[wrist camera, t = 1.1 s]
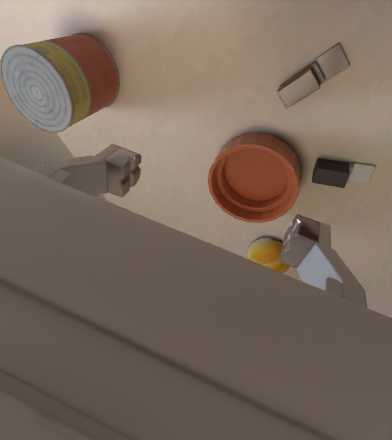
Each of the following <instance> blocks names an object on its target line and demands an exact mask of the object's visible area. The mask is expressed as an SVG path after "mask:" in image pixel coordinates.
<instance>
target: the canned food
mask: <svg viewBox="0 0 392 440" xmlns="http://www.w3.org/2000/svg"><path fill="white" fill-rule="evenodd" d="M1 76H2V80H3V83H4V86H5V89H6V91H7V93H8V95H9V97H10V99H11V101H12V102H13V104H14V105H15V107H16V108H17V109H18V111H19V112H20V113H21V114H22V115H23V116H24V117H25V118H26V119H27V120H28V121H29V122H31V123H32V124H33V125H35V126H36V127H38V128H40V129H42V130H44V131H47V132H51V133H58V132H61V131H64V130H65V129H66V128H68V127H69V126H71V125H73V124H75V123H77V122H79V121H80V120H82V119H84V118H86V117H88V116H90V115H91V114H93V113H95V112H97V111H99V110H101V109H102V108H104V107H107V106H109V105H111V104H112V103H113V102H114V100H115V99H116V97H117V95H118V91H119V76H118V71H117V68H116V65H115V63H114V61H113V59H112V57H111V55H110V54H109V52H108V51H107V49H106V48H105V47H104V46H103V45H102V44H101V43H100V42H99V41H98V40H96V39H95V38H93V37H91V36H89V35H86V34H73V35H71V36H66V37H61V38H56V39H50V40H45V41H40V42H35V43H29V44H24V45H14V46H11V47H9V48H8V49H7V50H6V51H5V52H4V54H3V56H2V59H1Z"/></svg>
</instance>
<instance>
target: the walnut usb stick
mask: <svg viewBox="0 0 392 440" xmlns="http://www.w3.org/2000/svg"><path fill="white" fill-rule="evenodd" d="M349 66H350V64H349V62H348V60H347V58H346V56H345V54H344V52H343V50H342V47H341V45H340V43H338V44H336V45H335V46H334V47H332V48H331V49H329V50H328V51H326V52H325V53H324V54H322V55H321V56H319V57H318V58H316V61H315V62H313V63H312V64H311V65H310V66H308V67H307V68H305V69H304V70H302V71H301V72H300V73H298V74H297V75H295V76H294V77H292V78H291V79H289V80H288V81H286V82H285V83H284V84H282V85H281V86H280V87H279V89H278V92H277V93H278V95H279V96H280V98H281V100H282V101H283V103H284V105H285V107H286V108H288V107H290V106H292V105H293V104H295V103H296V102H298V101H300V100H301V99H303V98H304V97H306V96H308V95H309V94H311V93H312V92H314V91H316V90H317V89H319V88H320V84H322V83H324V82H325V79H326V81H327V80H328V79H330V78H331V77H333V76H335V75H336V74H338V73H339V72H341V71H343V70H344V69H346V68H347V67H349Z"/></svg>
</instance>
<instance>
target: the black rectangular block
mask: <svg viewBox="0 0 392 440" xmlns="http://www.w3.org/2000/svg"><path fill="white" fill-rule="evenodd" d="M375 167H376V166H375V165H368V164H362V163H355V162H354V163H344V162H337V161H331V160H324V159H317V161H316V164H315V167H314V170H313V178H312V183H318V184H324V185H329V186H335V187H341V188H344V187H345V185H346V183H348V181H352V182H358V183H364V184H368V182H369V180H370V178H371V176H372V174H373V172H374V170H375Z"/></svg>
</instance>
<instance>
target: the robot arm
mask: <svg viewBox="0 0 392 440" xmlns="http://www.w3.org/2000/svg"><path fill="white" fill-rule="evenodd" d="M140 163H141V155H140V154H138V153H136V152H133V151H131V150H128V149H126V148H123V147H121V146H118V145H115V144H111V145H110V146H109V147H107V148H106V149H104V150H103V151H101V152H100V153H99V154H97V155H96V156H85V157H77V158H70V159H63V160H56V161H49V162H45V163H43V164H42V165H40V166H38V167H37V168H35V169H33V170H30V169H27V168H25V167H22V166H20V165H17V164H15V163H12V162H10V161H7V160H5V159H3V158H0V440H392V318H390V317H388V316H385V315H383V314H380V313H378V312H375V311H373V310H371V309H368V308H367V303H366V295H365V290H364V289H363V287H362V286H361V285H360V283H359V282H358V281H357V279H356V278H355V277H354V275H353V274H352V273H351V271H350V270H349V269H348V267H347V266H346V265H345V263H344V262H343V261H342V259H341V258H340V257H339V256H338V254H337V253H336V252H335V250H334V249H331V227H330V225H327V224H325V223H322V222H318V221H315V220H313V219H310V218H307V217H304V216H301V215H299V214H297V215H296V217H295V218H294V220H293V225H292V226H290V227H289V228H288V230H287V232H286V234H285V236H284V239H283V243H282V245H283V249H282V251H281V255H280V261H281V262H283V263H285V264H288V265H290V266H292V267H294V268H297V272H298V274H299V276H300V278H301V281H300V280H298V279H295V278H293V277H290V276H288V275H285V274H283V273H281V272H278V271H276V270H273V269H271V268H268V267H266V266H264V265H261V264H259V263H256V262H254V261H251V260H249V259H246V258H244V257H242V256H239V255H237V254H234V253H232V252H229V251H227V250H225V249H222V248H220V247H217V246H215V245H212V244H210V243H207V242H205V241H203V240H200V239H198V238H195V237H193V236H190V235H188V234H186V233H183V232H181V231H178V230H176V229H173V228H171V227H168V226H166V225H164V224H161V223H159V222H156V221H154V220H151V219H149V218H147V217H144V216H142V215H139V214H137V213H134V212H132V211H129V210H127V209H125V208H122V207H120V206H117V205H115V204H112V203H110V202H108V201H105V200H103V199H100V198H98V197H96V196H99V195H102V194H105V193H107V192H109V193H112V194H115V195H117V196H120V197H123V196H124V195H125V194H126V193H127V192H128V191H129V187H132V186H134V185H135V184H136V183H137V181H138V179H139V177H140V171H141V169H140V167H139V166H138V165H139V164H140Z"/></svg>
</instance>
